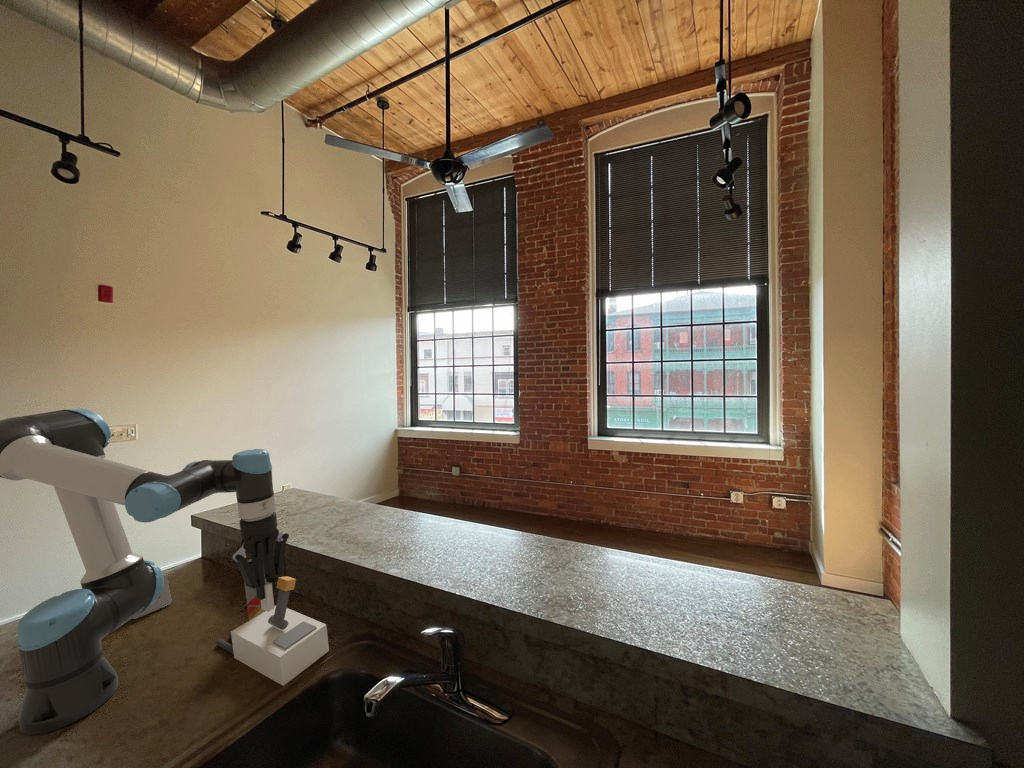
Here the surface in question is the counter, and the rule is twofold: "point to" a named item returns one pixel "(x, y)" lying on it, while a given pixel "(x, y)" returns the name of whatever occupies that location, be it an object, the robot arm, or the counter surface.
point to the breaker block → (280, 645)
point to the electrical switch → (159, 600)
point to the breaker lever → (282, 602)
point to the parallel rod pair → (225, 644)
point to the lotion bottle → (253, 599)
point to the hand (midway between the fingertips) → (268, 608)
